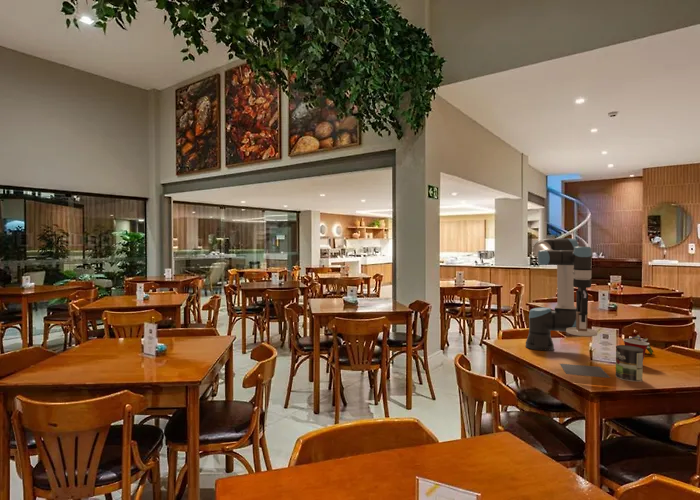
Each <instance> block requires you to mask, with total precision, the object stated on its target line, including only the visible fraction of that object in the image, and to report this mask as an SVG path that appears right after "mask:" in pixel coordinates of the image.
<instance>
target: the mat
mask: <svg viewBox="0 0 700 500" xmlns="http://www.w3.org/2000/svg"><path fill="white" fill-rule="evenodd" d="M559 365H560V367H561V368H562V369H563V371H564V373H565V374H566V375H574V376H586V377H595V378H607V379H611V377H610V375H608V373H607V372H605V371H604V369H603V368H602V367H601V366H594V365H584V364H583V365H581V364H572V363H571V364H570V363H559Z"/></svg>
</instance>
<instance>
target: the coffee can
mask: <svg viewBox="0 0 700 500" xmlns="http://www.w3.org/2000/svg"><path fill="white" fill-rule="evenodd" d="M643 362H644V359H643V349H642V348H639V347H635V346H628V345H625V344H619V345H616V346H615V377H616V378H617V379H620V380H623V381H628V382H643V381H644V380H643V374H644V373H643V370H644V369H643V368H644V367H643V366H644V364H643Z"/></svg>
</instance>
